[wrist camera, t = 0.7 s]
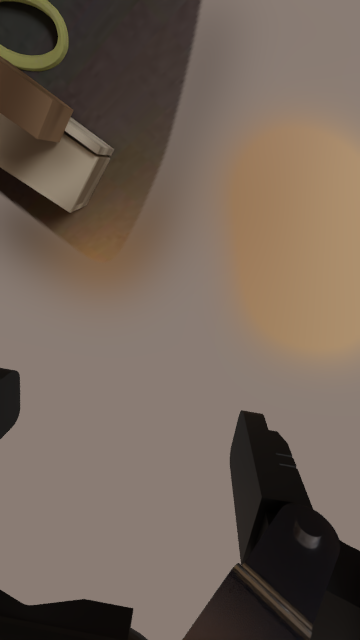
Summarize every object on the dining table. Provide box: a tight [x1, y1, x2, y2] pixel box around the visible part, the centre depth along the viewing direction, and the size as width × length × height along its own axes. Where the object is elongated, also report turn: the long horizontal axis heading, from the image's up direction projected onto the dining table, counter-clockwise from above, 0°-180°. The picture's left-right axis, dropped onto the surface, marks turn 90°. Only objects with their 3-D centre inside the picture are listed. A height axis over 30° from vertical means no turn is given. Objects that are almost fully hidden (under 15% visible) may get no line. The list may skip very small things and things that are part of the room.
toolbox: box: [0, 113, 110, 213], centre depth 26 cm, size 10×5×5 cm, turn 55°
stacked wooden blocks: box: [0, 56, 114, 156], centre depth 23 cm, size 10×6×9 cm, turn 55°
